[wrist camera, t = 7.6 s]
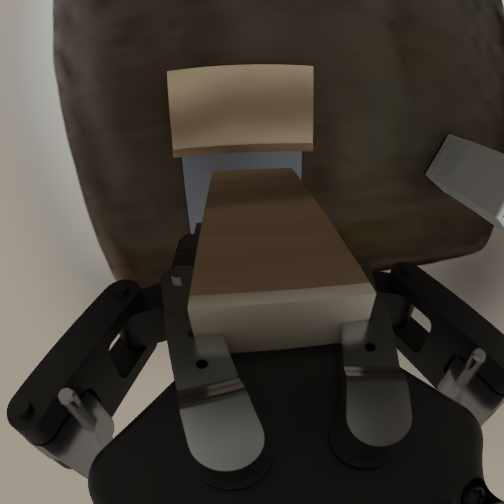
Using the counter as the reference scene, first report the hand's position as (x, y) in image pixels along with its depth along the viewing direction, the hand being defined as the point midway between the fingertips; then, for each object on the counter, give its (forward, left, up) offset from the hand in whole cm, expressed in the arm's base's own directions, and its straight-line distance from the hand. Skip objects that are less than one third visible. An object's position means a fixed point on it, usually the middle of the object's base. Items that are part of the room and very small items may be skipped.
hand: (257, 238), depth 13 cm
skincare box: (-1, +23, -16) cm, 28 cm away
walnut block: (0, 0, -3) cm, 3 cm away
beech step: (-5, 0, -15) cm, 16 cm away
